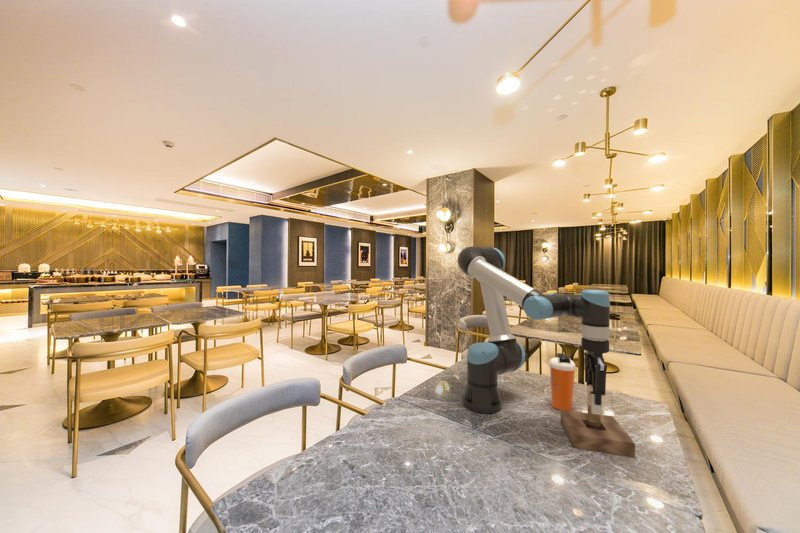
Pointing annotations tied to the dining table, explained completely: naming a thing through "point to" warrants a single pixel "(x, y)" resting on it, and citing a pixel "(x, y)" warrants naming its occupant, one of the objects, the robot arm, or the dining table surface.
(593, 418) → the peg
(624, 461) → the dining table surface
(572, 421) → the socket block
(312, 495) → the dining table surface
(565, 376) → the shaker bottle
